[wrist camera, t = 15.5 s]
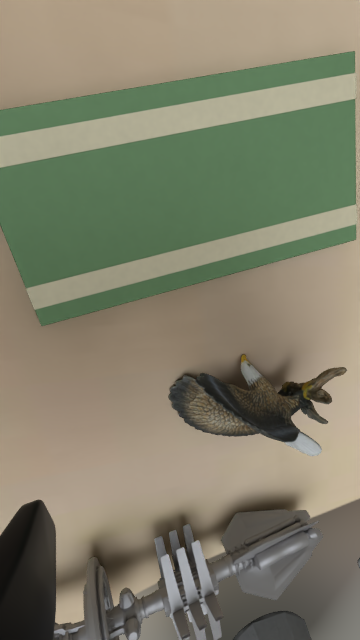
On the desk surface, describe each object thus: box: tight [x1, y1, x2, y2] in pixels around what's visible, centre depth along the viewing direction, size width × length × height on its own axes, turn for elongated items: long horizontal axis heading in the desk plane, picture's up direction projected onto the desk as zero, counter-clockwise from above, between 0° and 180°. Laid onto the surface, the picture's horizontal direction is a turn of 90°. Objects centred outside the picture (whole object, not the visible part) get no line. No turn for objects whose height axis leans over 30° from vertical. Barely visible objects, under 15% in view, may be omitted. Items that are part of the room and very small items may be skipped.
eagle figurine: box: [169, 355, 347, 456], centre depth 19 cm, size 8×7×9 cm
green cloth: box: [0, 51, 357, 326], centre depth 17 cm, size 20×10×1 cm, turn 102°
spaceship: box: [53, 509, 323, 640], centre depth 20 cm, size 8×35×8 cm
